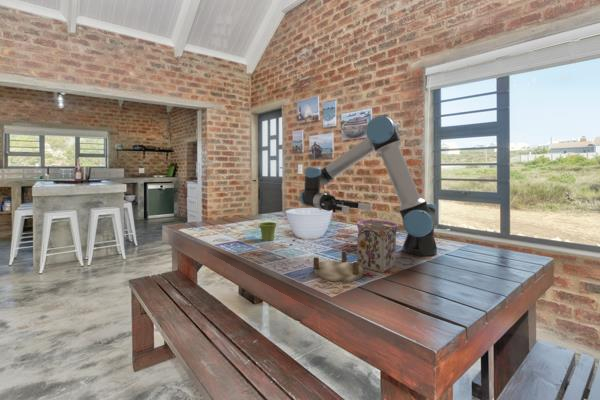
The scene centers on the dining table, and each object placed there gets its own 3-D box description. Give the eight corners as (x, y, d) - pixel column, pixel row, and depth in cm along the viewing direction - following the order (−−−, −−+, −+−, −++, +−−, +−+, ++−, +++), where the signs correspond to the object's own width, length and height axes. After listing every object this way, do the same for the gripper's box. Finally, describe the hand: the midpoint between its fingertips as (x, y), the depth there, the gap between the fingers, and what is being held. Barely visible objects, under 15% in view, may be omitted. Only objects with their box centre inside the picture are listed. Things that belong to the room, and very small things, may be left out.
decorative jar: (369, 260, 137) (370, 218, 135) (395, 265, 130) (397, 222, 128) (355, 267, 128) (356, 222, 126) (382, 273, 120) (384, 226, 118)
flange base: (354, 264, 130) (354, 250, 130) (369, 280, 113) (370, 264, 112) (309, 266, 128) (309, 251, 127) (318, 282, 110) (318, 265, 109)
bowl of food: (387, 254, 146) (388, 229, 145) (348, 247, 158) (349, 223, 157) (403, 245, 162) (404, 223, 160) (366, 239, 174) (367, 218, 172)
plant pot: (268, 242, 165) (268, 226, 164) (255, 240, 170) (255, 223, 169) (280, 239, 172) (280, 223, 171) (267, 236, 178) (267, 221, 177)
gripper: (342, 208, 158) (377, 215, 142) (303, 211, 143) (337, 220, 127) (344, 193, 157) (379, 199, 141) (304, 194, 142) (339, 201, 126)
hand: (359, 209), depth 134 cm, fingers open, 13 cm apart
